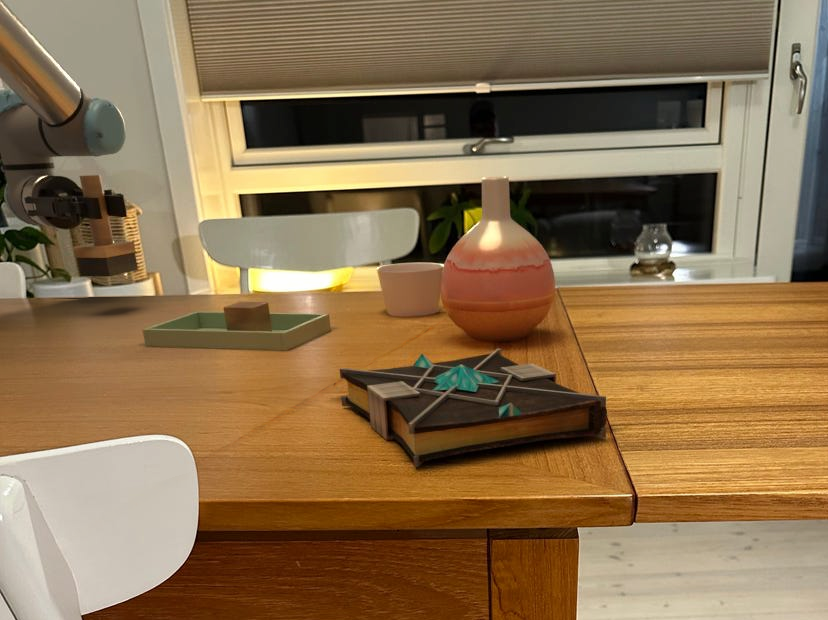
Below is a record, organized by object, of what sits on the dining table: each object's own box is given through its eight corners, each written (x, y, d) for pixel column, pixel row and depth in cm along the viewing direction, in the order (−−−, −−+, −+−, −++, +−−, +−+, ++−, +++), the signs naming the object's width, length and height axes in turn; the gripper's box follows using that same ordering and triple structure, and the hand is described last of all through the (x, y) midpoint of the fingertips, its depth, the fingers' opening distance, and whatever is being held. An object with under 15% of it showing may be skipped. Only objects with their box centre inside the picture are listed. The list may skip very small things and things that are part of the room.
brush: (79, 276, 138) (57, 177, 132) (109, 269, 144) (90, 174, 138) (109, 276, 137) (89, 176, 131) (139, 269, 143) (121, 173, 137)
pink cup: (393, 324, 126) (389, 274, 123) (371, 314, 134) (367, 266, 131) (455, 317, 129) (453, 267, 126) (431, 307, 137) (428, 260, 134)
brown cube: (228, 341, 117) (223, 307, 115) (244, 334, 121) (239, 301, 119) (257, 342, 116) (252, 307, 114) (272, 335, 120) (268, 302, 118)
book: (608, 439, 78) (609, 378, 76) (413, 471, 73) (409, 406, 70) (502, 383, 96) (501, 332, 94) (339, 406, 91) (334, 352, 88)
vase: (577, 339, 114) (579, 175, 105) (477, 354, 108) (471, 183, 100) (517, 322, 124) (515, 172, 116) (424, 336, 119) (414, 179, 110)
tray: (146, 351, 117) (142, 329, 115) (199, 331, 127) (196, 311, 126) (287, 355, 111) (284, 332, 110) (331, 334, 122) (329, 313, 120)
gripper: (111, 224, 155) (169, 231, 139) (9, 232, 146) (58, 242, 130) (100, 172, 151) (159, 174, 135) (-5, 178, 143) (45, 181, 126)
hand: (110, 207), depth 133 cm, fingers closed on brush, 3 cm apart
